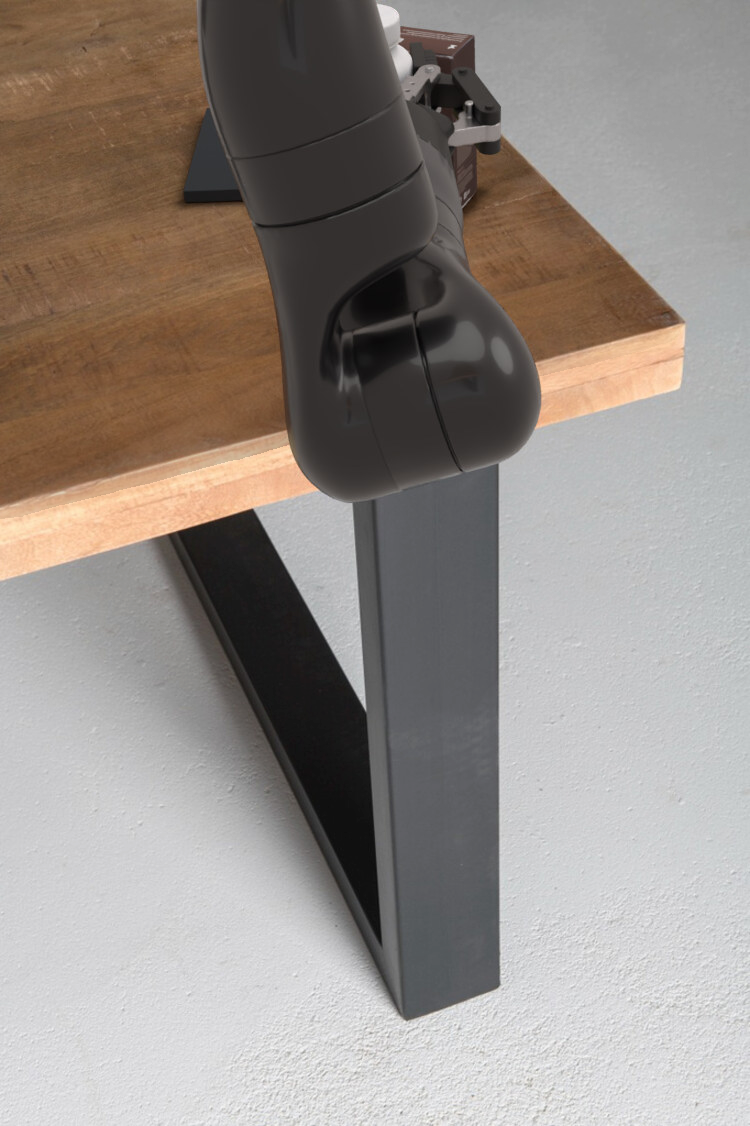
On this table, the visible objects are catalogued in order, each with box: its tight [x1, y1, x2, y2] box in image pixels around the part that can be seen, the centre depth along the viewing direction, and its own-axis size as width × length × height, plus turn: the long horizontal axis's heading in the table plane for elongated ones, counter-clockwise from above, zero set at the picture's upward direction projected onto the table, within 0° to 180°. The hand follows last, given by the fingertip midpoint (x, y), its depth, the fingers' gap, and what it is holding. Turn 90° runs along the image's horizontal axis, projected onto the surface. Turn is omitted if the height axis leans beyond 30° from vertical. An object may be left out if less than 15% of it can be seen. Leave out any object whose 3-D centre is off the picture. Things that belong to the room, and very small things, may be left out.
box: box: [398, 25, 478, 210], centre depth 102 cm, size 6×4×12 cm
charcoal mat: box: [182, 107, 243, 203], centre depth 112 cm, size 14×14×1 cm
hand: (364, 62), depth 83 cm, fingers closed on supplement bottle, 5 cm apart
